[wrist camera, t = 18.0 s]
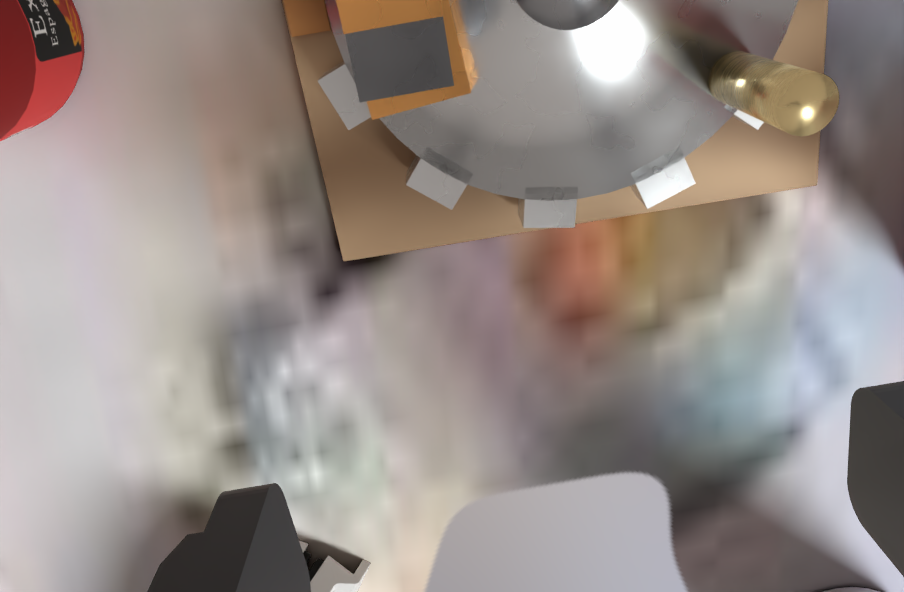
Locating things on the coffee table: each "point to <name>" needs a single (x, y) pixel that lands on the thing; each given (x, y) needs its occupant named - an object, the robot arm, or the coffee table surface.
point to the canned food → (37, 60)
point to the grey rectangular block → (396, 46)
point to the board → (491, 215)
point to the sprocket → (588, 97)
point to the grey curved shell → (334, 574)
